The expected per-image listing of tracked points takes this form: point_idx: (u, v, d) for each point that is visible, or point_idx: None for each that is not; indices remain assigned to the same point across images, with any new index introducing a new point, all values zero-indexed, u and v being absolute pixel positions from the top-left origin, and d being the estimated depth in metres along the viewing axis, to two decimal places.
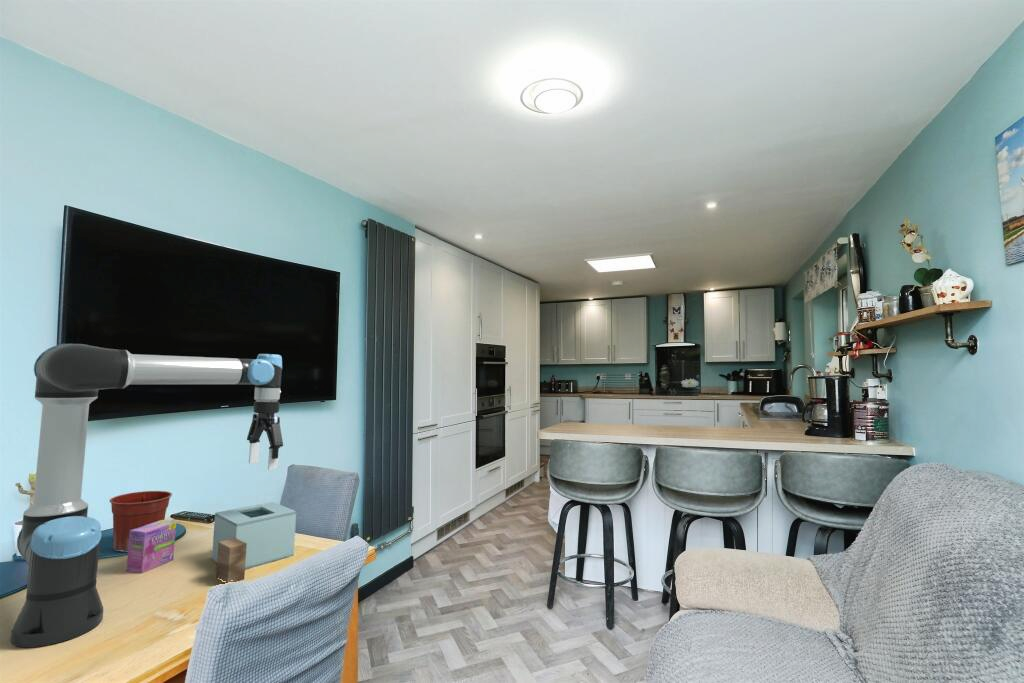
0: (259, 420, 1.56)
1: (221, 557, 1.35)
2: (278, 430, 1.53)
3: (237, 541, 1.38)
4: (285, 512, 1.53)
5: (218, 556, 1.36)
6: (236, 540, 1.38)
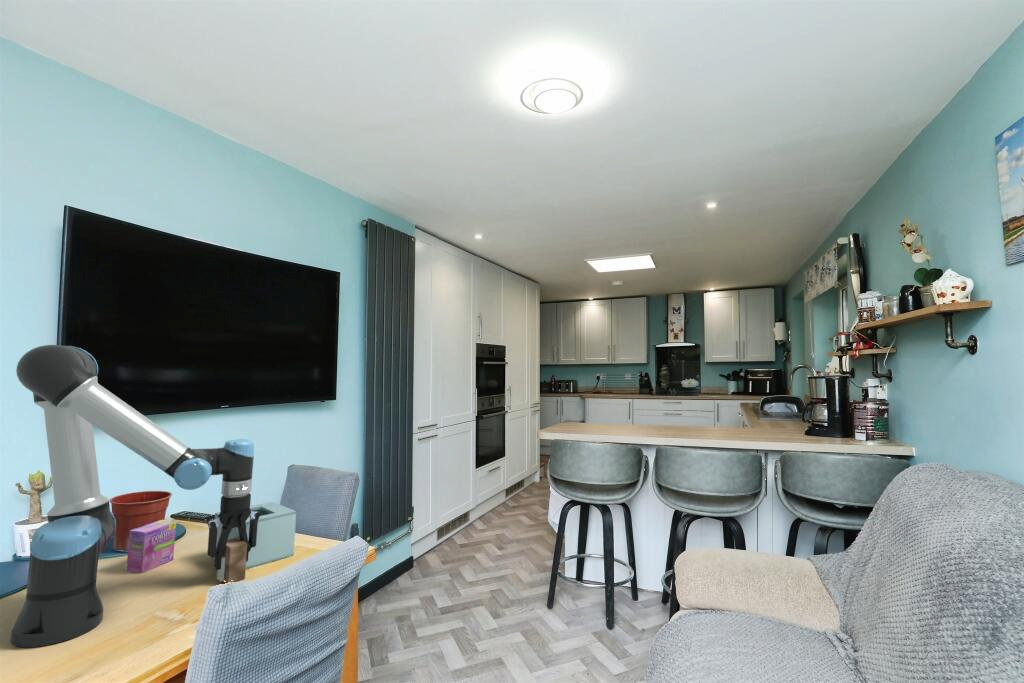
0: None
1: None
2: (211, 538, 1.32)
3: (237, 541, 1.38)
4: (285, 512, 1.53)
5: None
6: (236, 540, 1.38)
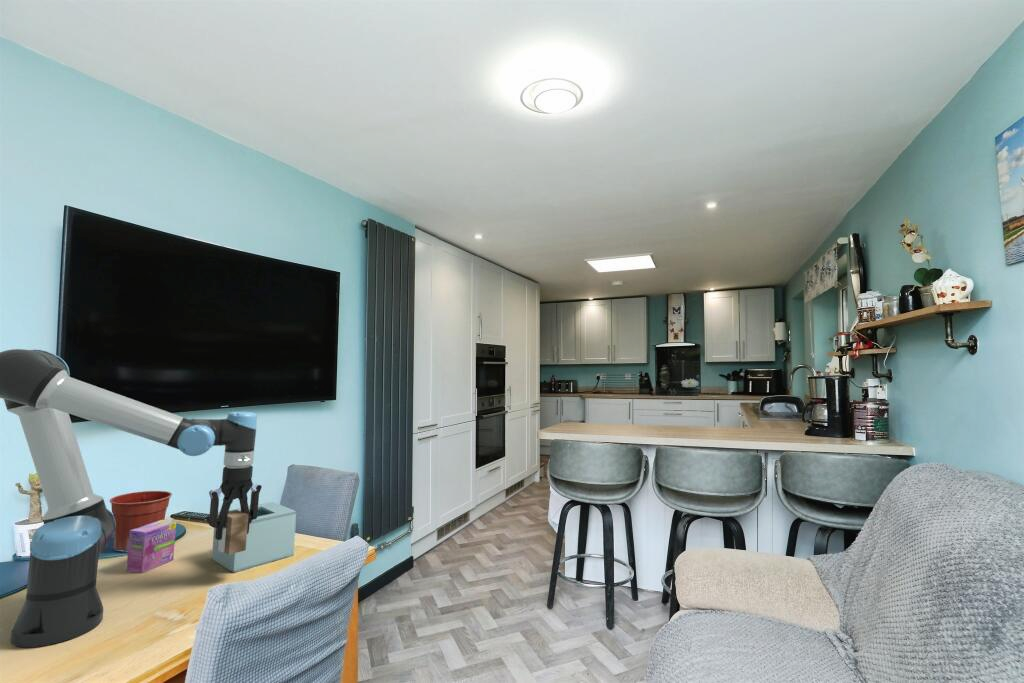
0: None
1: None
2: (212, 508, 1.32)
3: (239, 512, 1.38)
4: (285, 512, 1.53)
5: None
6: (238, 511, 1.39)
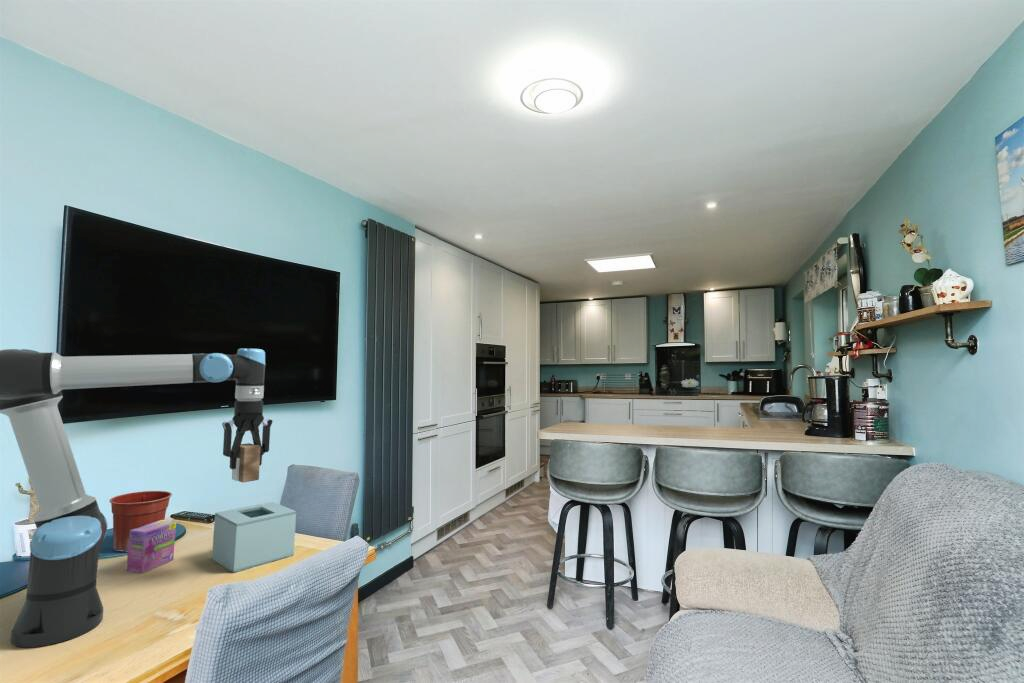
0: None
1: None
2: (225, 438, 1.38)
3: (251, 444, 1.43)
4: (285, 512, 1.53)
5: None
6: (250, 444, 1.44)
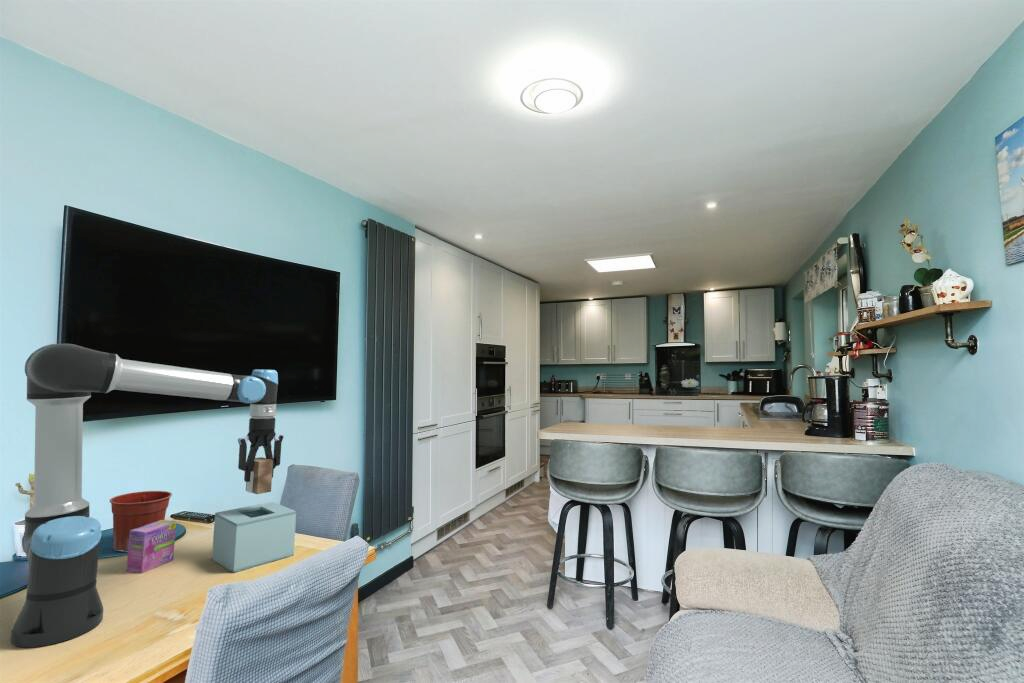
0: None
1: None
2: (241, 453, 1.49)
3: (264, 459, 1.54)
4: (285, 512, 1.53)
5: None
6: (263, 458, 1.55)
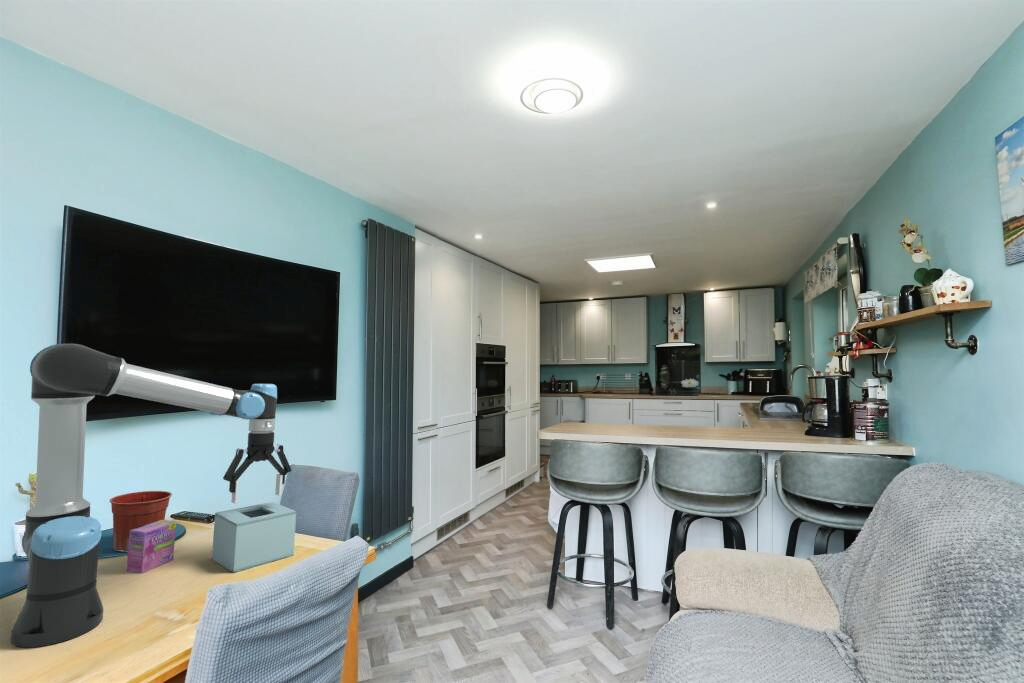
0: None
1: None
2: (233, 463, 1.47)
3: None
4: (285, 512, 1.53)
5: None
6: None
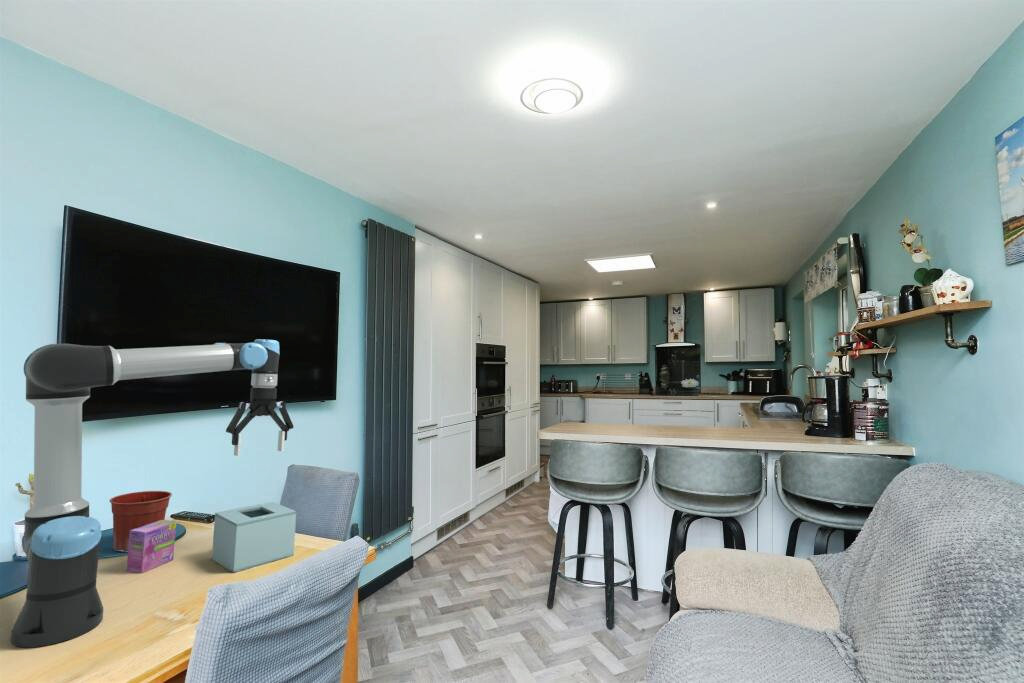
0: None
1: None
2: (236, 416, 1.48)
3: None
4: (285, 512, 1.53)
5: None
6: None
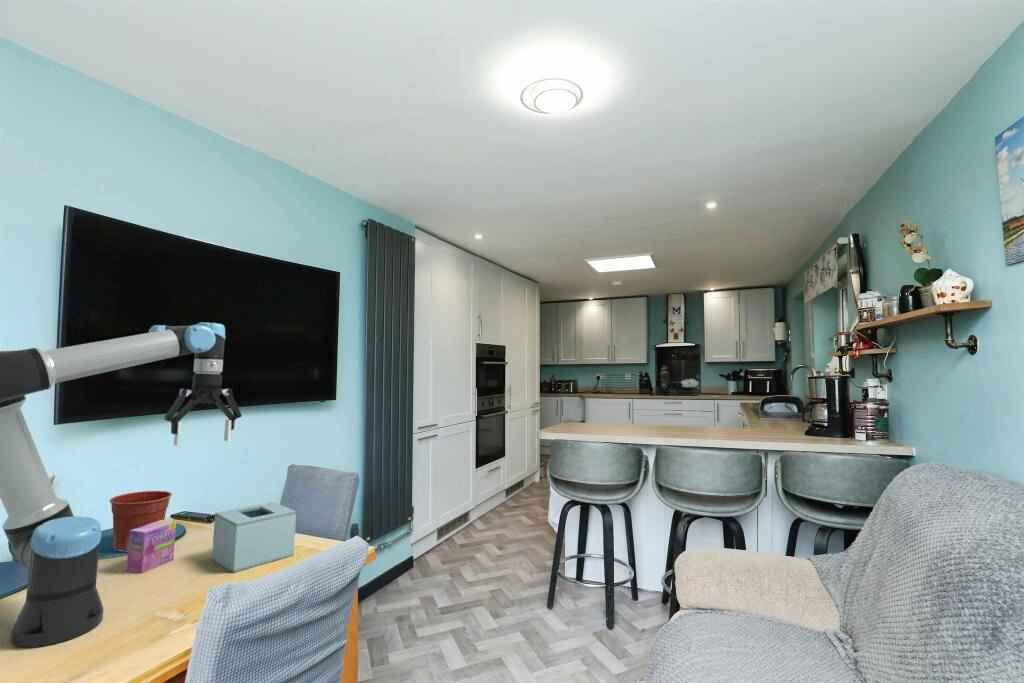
0: None
1: None
2: (175, 403, 1.39)
3: None
4: (285, 512, 1.53)
5: None
6: None
